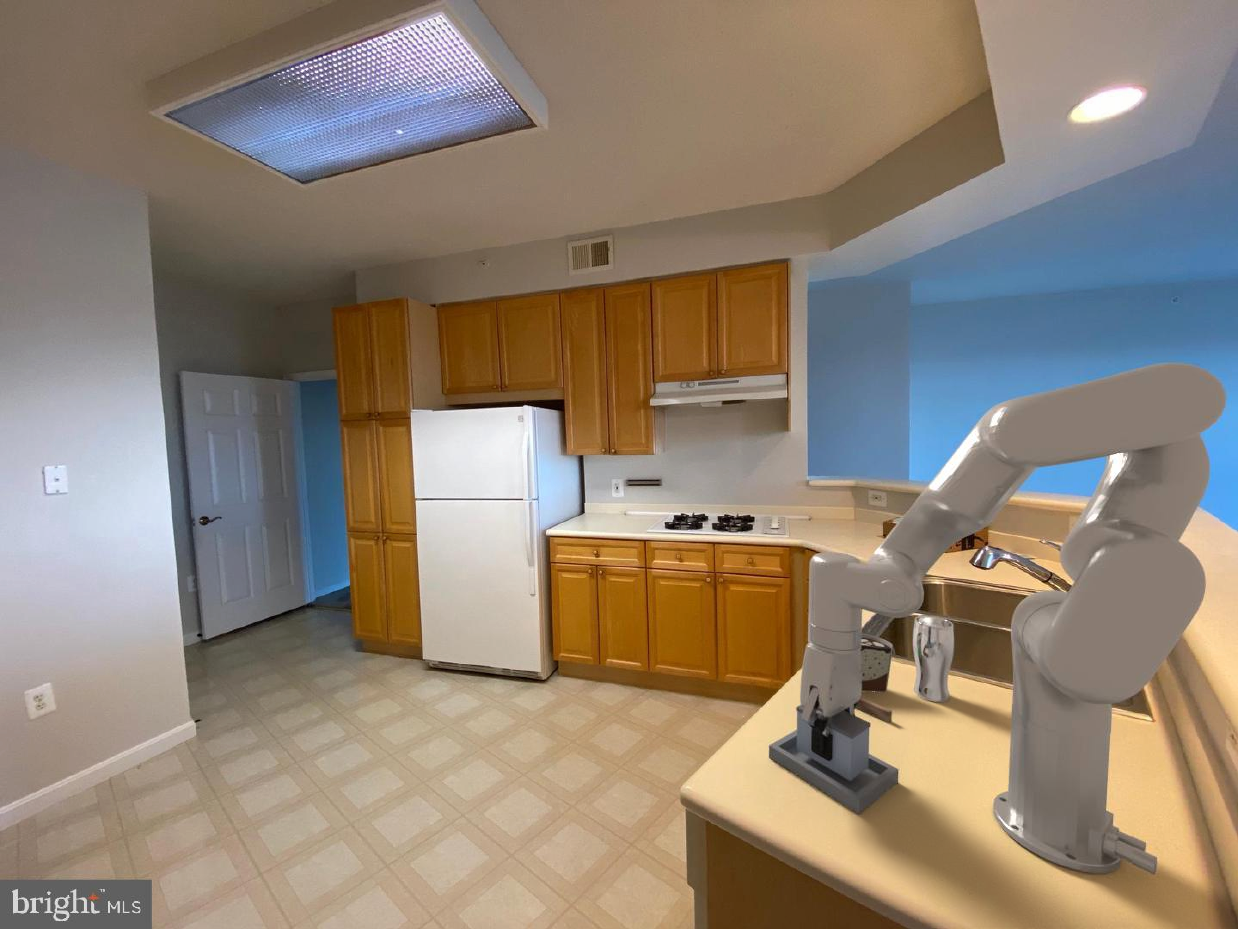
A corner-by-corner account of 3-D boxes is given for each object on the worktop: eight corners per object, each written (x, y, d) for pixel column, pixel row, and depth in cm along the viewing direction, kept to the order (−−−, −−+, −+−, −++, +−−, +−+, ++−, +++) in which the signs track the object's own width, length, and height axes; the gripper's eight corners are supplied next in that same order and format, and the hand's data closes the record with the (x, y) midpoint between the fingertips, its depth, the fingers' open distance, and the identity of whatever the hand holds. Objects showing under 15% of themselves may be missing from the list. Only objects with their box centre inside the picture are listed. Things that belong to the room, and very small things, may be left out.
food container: (881, 678, 107) (882, 632, 106) (894, 693, 101) (895, 645, 100) (821, 676, 108) (822, 630, 107) (830, 690, 102) (832, 642, 101)
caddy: (814, 738, 83) (815, 697, 82) (869, 767, 75) (870, 723, 75) (795, 749, 80) (796, 707, 79) (850, 781, 72) (851, 735, 72)
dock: (891, 721, 91) (891, 710, 91) (849, 749, 83) (849, 737, 82) (839, 698, 99) (840, 688, 99) (796, 721, 91) (797, 710, 91)
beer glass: (960, 704, 96) (963, 628, 96) (924, 704, 96) (926, 628, 96) (937, 686, 103) (940, 615, 102) (904, 686, 103) (906, 615, 103)
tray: (898, 782, 75) (898, 769, 75) (858, 814, 68) (859, 800, 68) (809, 733, 87) (809, 722, 87) (768, 757, 81) (769, 745, 80)
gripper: (842, 615, 84) (839, 720, 85) (778, 639, 75) (777, 757, 76) (887, 629, 78) (884, 741, 79) (824, 657, 68) (822, 785, 69)
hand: (832, 748), depth 77 cm, fingers closed on caddy, 4 cm apart
